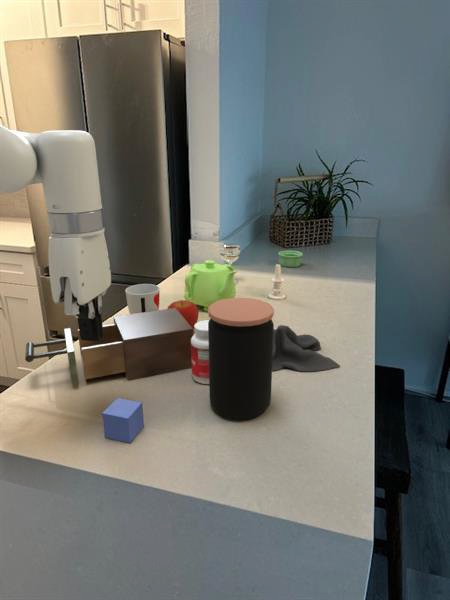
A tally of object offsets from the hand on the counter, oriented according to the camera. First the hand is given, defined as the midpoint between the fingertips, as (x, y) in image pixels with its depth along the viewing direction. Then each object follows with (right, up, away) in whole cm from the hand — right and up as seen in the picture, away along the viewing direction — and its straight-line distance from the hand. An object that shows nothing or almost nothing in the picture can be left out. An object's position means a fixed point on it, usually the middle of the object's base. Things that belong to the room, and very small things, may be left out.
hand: (92, 338), depth 68 cm
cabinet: (+6, -7, +23) cm, 25 cm away
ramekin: (+45, +19, +94) cm, 106 cm away
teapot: (+18, +4, +54) cm, 57 cm away
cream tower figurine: (+36, +7, +60) cm, 70 cm away
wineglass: (+23, +12, +74) cm, 78 cm away
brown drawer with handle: (-7, -8, +17) cm, 20 cm away
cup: (+1, -1, +39) cm, 39 cm away
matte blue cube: (+5, -15, 0) cm, 16 cm away
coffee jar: (+24, -12, +7) cm, 28 cm away
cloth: (+35, -6, +25) cm, 43 cm away
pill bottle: (+18, -9, +16) cm, 26 cm away
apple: (+11, -2, +37) cm, 38 cm away
